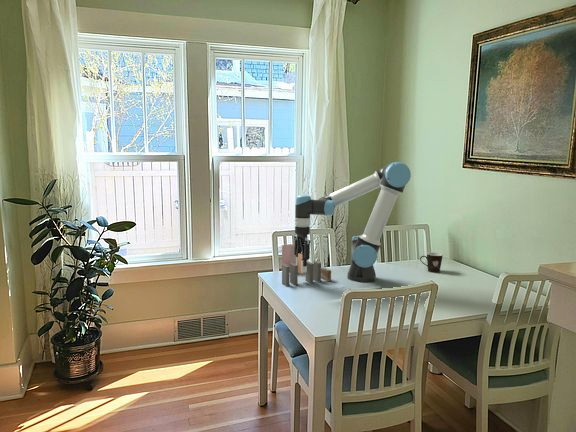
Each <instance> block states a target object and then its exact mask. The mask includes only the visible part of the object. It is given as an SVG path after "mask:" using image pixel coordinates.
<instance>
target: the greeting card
mask: <svg viewBox="0 0 576 432" xmlns="http://www.w3.org/2000/svg"><path fill="white" fill-rule="evenodd" d="M294 244H295V243H294ZM294 244H292V243H291V244H283V245H281V266H282V265H283V264H286V265H288V266H290V264H292V263H294V264H296V255H294Z"/></svg>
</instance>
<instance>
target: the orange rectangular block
mask: <svg viewBox="0 0 576 432" xmlns="http://www.w3.org/2000/svg"><path fill="white" fill-rule="evenodd" d="M301 259H302V252H301V253H298V274H299V275H303V276H304V275H306V272H304V273H301Z"/></svg>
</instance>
